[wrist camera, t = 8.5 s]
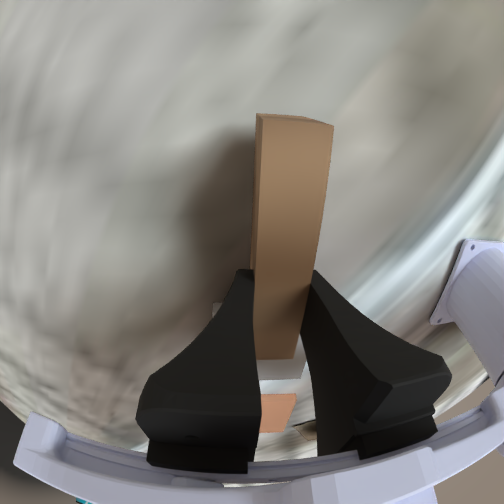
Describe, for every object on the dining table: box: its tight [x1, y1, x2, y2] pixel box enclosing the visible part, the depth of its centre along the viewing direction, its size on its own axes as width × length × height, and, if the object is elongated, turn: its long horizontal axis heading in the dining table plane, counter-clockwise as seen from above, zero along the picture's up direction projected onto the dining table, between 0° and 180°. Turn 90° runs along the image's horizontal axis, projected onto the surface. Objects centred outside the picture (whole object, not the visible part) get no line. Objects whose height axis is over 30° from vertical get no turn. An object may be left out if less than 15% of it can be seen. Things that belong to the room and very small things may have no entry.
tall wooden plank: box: [212, 113, 334, 380], centre depth 13 cm, size 17×6×4 cm, turn 178°
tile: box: [259, 394, 297, 433], centre depth 25 cm, size 7×1×8 cm
